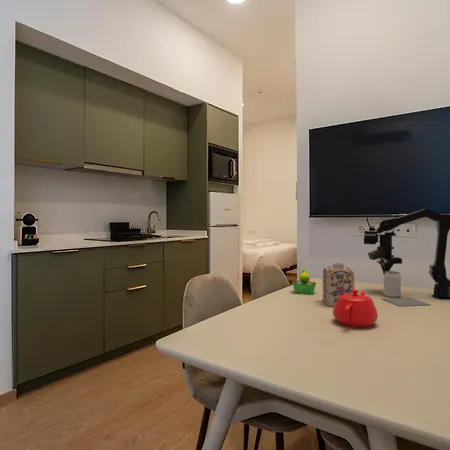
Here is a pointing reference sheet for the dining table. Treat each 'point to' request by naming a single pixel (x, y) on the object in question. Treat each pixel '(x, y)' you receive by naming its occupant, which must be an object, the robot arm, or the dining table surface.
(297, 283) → the fruit basket
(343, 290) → the decorative jar
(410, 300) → the mat
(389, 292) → the can
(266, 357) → the dining table surface
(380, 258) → the robot arm
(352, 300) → the teapot
